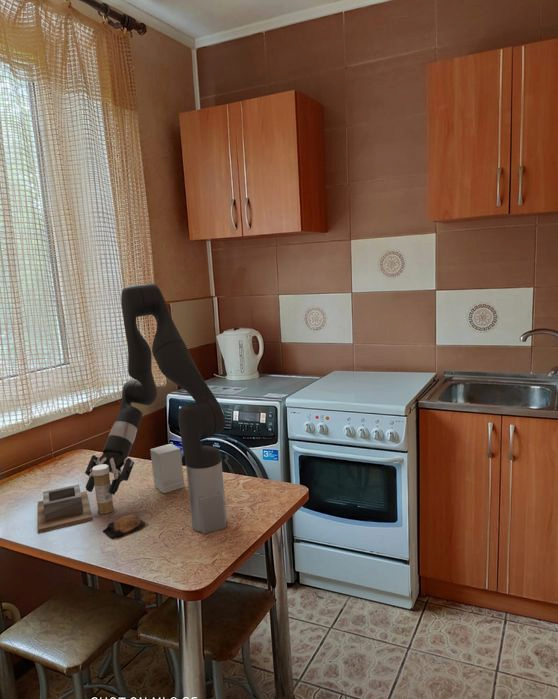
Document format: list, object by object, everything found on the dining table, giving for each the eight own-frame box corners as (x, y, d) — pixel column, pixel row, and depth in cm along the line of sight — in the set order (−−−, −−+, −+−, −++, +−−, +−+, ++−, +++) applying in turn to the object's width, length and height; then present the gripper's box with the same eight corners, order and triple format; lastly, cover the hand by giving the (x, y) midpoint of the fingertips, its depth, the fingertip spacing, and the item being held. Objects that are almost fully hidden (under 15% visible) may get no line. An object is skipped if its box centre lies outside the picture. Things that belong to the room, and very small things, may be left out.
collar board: (92, 519, 153) (90, 501, 152) (38, 532, 148) (35, 513, 147) (86, 494, 172) (84, 477, 171) (38, 504, 166) (35, 487, 165)
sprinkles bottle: (110, 505, 162) (104, 462, 159) (116, 510, 158) (111, 466, 156) (95, 511, 159) (89, 466, 157) (101, 516, 155) (95, 471, 153)
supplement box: (185, 487, 172) (181, 448, 169) (162, 494, 167) (158, 454, 165) (175, 480, 178) (171, 442, 176) (153, 486, 174) (149, 448, 172)
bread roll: (135, 518, 154) (134, 506, 153) (151, 527, 148) (149, 514, 147) (99, 533, 147) (98, 520, 146) (114, 543, 140) (113, 529, 140)
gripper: (94, 432, 165) (72, 485, 156) (134, 435, 159) (113, 489, 151) (108, 443, 170) (87, 494, 162) (146, 446, 165) (127, 499, 156)
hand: (99, 492), depth 156 cm, fingers open, 7 cm apart
